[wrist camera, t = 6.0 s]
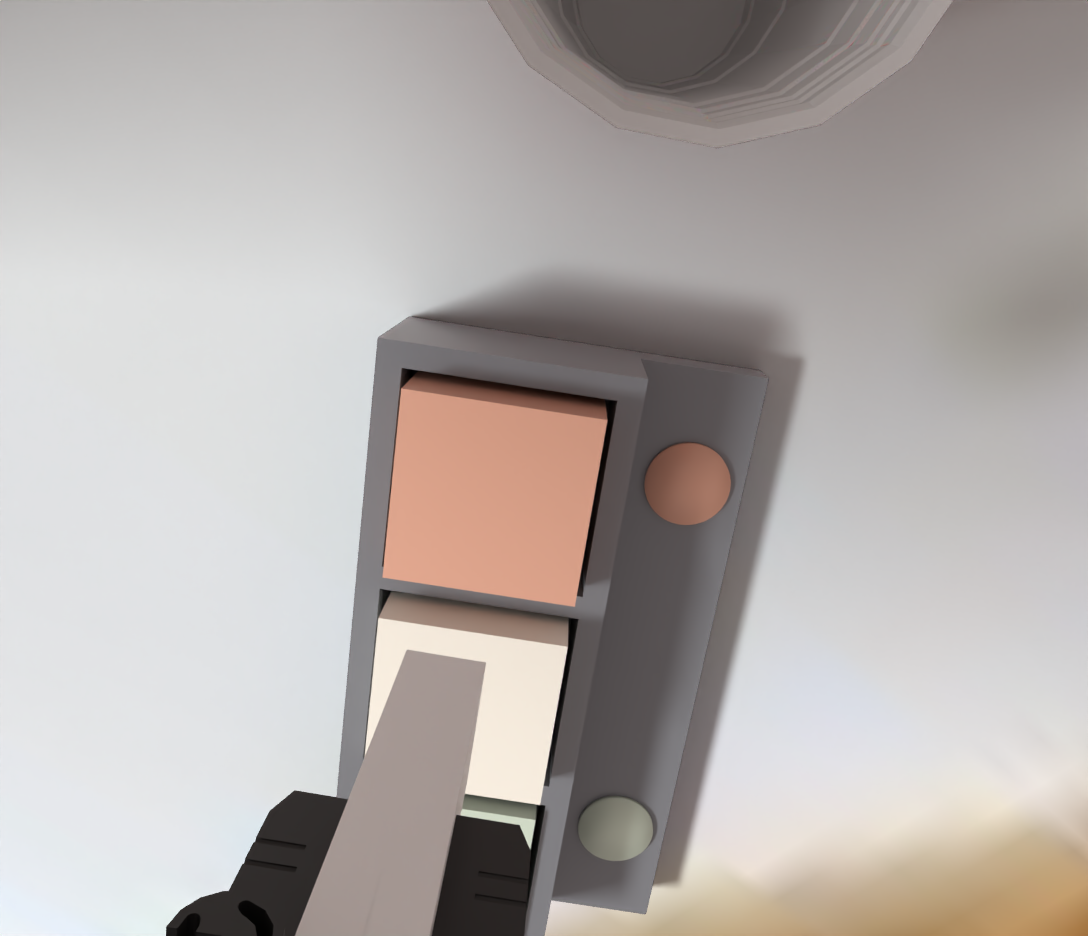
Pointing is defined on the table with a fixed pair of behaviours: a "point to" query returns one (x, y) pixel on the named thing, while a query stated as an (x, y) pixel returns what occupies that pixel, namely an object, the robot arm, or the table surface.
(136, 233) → the table surface
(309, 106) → the table surface
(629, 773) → the keypad
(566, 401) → the terracotta key
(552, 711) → the cream key
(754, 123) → the plastic cup
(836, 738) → the table surface
